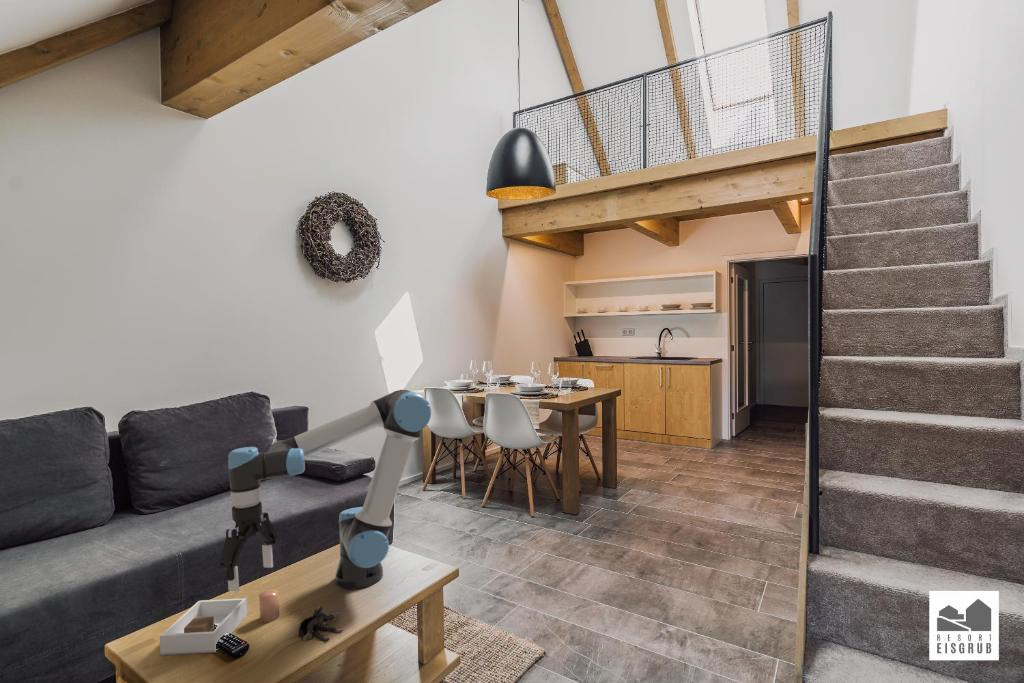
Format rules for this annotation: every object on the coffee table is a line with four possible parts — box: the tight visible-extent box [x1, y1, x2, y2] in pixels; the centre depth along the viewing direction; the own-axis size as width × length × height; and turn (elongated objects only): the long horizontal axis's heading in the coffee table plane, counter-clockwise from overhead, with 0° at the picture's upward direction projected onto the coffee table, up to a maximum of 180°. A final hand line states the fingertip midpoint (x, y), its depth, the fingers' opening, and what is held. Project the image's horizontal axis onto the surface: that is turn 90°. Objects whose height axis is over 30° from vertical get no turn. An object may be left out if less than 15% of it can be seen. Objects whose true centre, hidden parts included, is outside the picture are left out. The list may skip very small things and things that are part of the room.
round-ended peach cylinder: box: [258, 588, 280, 623], centre depth 148 cm, size 5×5×7 cm
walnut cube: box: [184, 616, 214, 633], centre depth 136 cm, size 5×5×5 cm
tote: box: [159, 597, 248, 656], centre depth 140 cm, size 14×18×5 cm
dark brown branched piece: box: [297, 606, 343, 642], centre depth 142 cm, size 12×10×12 cm
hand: (252, 578), depth 145 cm, fingers open, 13 cm apart
